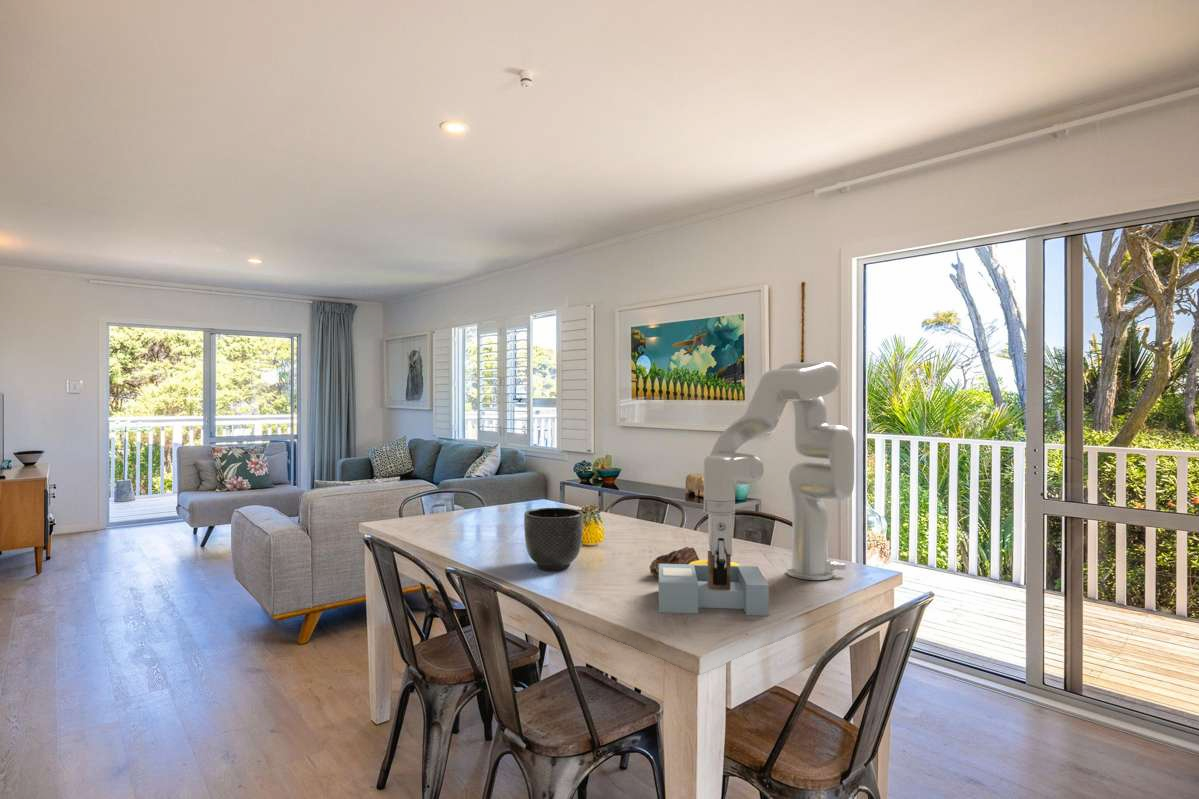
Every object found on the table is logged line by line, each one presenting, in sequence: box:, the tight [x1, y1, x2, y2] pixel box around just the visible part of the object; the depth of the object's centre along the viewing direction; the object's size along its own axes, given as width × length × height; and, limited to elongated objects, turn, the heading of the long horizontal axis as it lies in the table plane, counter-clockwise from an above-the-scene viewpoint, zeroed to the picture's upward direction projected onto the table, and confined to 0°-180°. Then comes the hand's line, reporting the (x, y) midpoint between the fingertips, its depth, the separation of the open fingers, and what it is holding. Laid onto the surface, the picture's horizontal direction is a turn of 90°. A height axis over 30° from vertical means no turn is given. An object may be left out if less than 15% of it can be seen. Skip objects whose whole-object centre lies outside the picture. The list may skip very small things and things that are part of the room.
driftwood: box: [649, 546, 700, 577], centre depth 189 cm, size 23×8×8 cm, turn 155°
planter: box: [523, 507, 584, 572], centre depth 194 cm, size 17×17×16 cm
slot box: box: [658, 564, 770, 617], centre depth 161 cm, size 25×17×7 cm
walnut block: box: [707, 550, 732, 590], centre depth 161 cm, size 5×5×8 cm
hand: (718, 580), depth 161 cm, fingers closed on walnut block, 5 cm apart
